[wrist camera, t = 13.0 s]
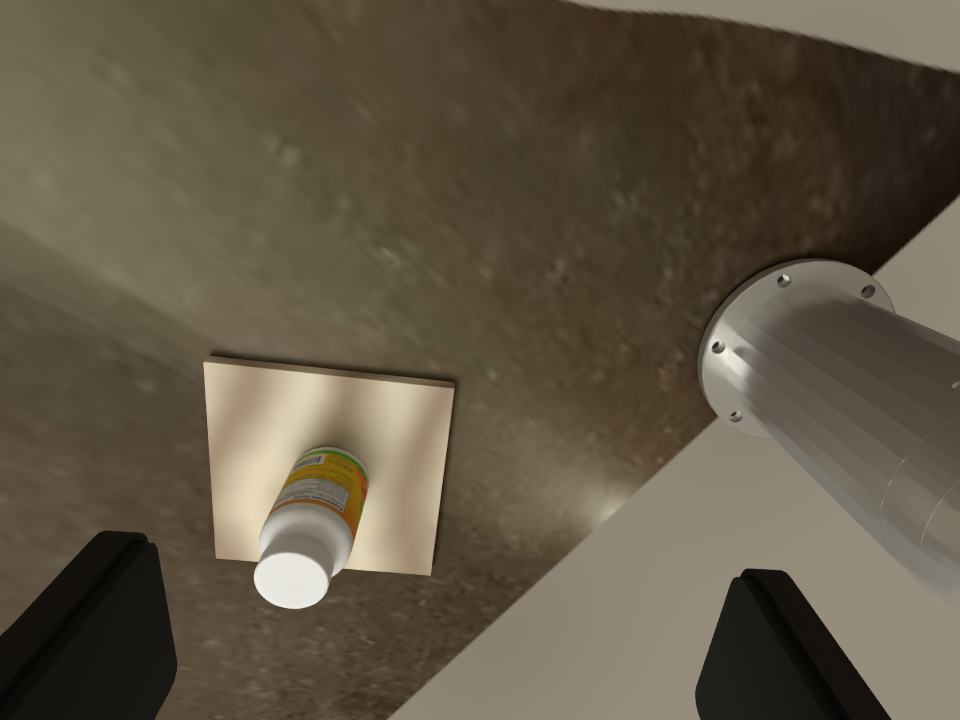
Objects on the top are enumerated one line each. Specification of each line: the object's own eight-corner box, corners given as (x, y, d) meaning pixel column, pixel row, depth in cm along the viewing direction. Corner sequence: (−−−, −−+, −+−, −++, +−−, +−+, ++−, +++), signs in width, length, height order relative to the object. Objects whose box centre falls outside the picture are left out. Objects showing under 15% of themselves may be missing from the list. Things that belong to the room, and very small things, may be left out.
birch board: (454, 382, 37) (454, 388, 36) (431, 565, 43) (430, 575, 43) (210, 356, 36) (203, 361, 35) (221, 548, 42) (216, 558, 41)
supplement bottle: (352, 519, 40) (319, 631, 31) (281, 491, 39) (226, 599, 30) (382, 463, 38) (357, 564, 29) (309, 432, 37) (259, 528, 28)
